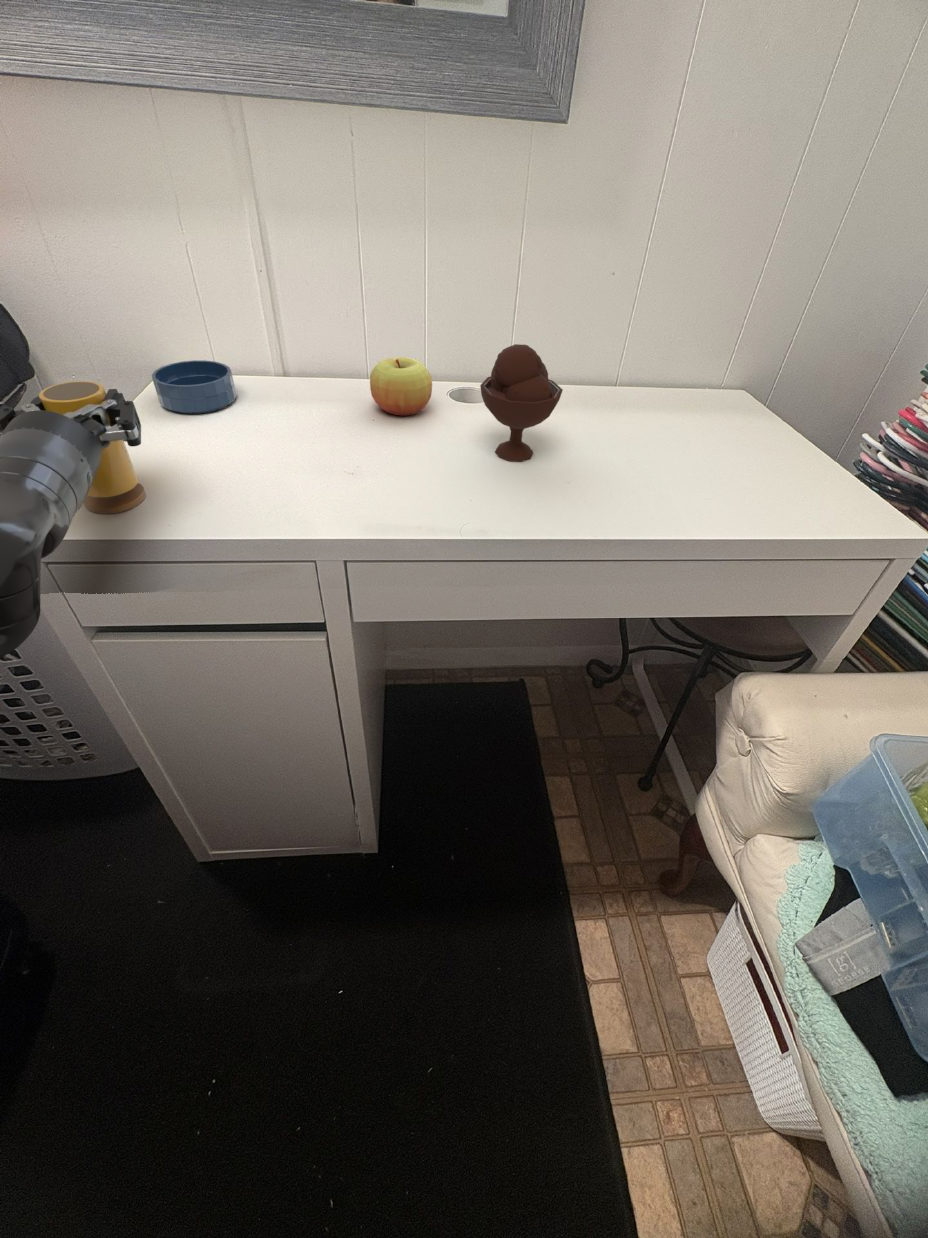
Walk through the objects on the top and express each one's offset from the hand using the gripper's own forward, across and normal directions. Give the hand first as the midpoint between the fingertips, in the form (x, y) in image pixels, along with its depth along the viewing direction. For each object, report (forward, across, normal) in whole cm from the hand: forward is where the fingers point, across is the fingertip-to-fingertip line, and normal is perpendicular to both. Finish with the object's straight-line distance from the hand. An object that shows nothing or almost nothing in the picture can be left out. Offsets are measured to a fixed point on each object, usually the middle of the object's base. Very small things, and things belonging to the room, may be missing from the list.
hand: (83, 399), depth 63 cm
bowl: (+27, -7, +11) cm, 30 cm away
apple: (+19, -39, +11) cm, 45 cm away
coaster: (-2, 0, +11) cm, 11 cm away
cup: (-2, 0, +9) cm, 10 cm away
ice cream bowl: (+1, -52, +11) cm, 53 cm away
